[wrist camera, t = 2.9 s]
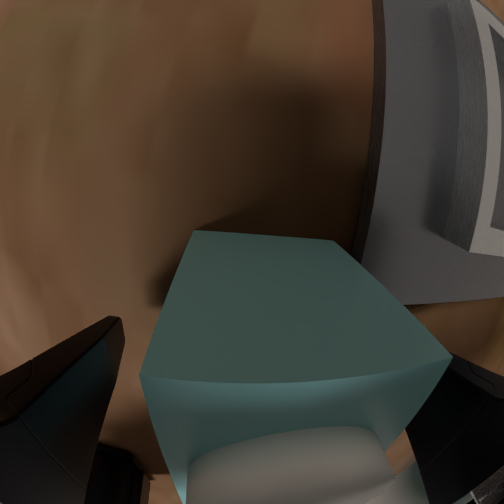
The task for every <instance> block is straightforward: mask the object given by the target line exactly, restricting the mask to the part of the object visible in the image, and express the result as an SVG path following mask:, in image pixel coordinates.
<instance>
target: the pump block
mask: <svg viewBox="0 0 504 504" xmlns="http://www.w3.org/2000/svg"><path fill="white" fill-rule="evenodd" d="M452 358H453V356H452V355H451V354H450V353H449V352H448V351H447V350H446V349H445V348H444V347H443V345H442V344H441V343H440V342H439V341H438V340H437V339H436V338H435V337H434V336H433V335H432V334H431V333H430V332H429V331H428V330H427V329H426V328H425V327H424V325H423V324H422V323H421V322H420V321H419V320H418V319H417V318H416V317H415V316H414V315H413V314H412V313H411V312H410V311H409V310H408V309H407V308H406V307H405V306H404V305H403V304H402V303H401V302H400V301H399V300H398V299H397V298H395V297H394V296H393V295H392V294H391V293H390V292H389V291H388V290H387V289H386V288H385V287H384V286H383V285H382V284H381V283H380V282H379V281H378V280H377V279H376V278H374V277H373V276H372V275H371V274H370V273H369V272H368V271H367V270H366V269H365V268H364V267H363V266H361V265H360V264H359V263H358V262H357V261H356V260H355V259H354V258H353V257H351V256H350V255H349V254H348V253H347V252H346V251H345V250H344V249H342V248H341V247H340V246H339V245H338V244H337V243H336V242H334V241H333V240H321V239H309V238H297V237H285V236H272V235H259V234H245V233H231V232H217V231H201V230H193V233H192V235H191V237H190V240H189V242H188V244H187V247H186V249H185V252H184V254H183V256H182V259H181V261H180V264H179V266H178V269H177V271H176V274H175V276H174V279H173V281H172V284H171V286H170V289H169V291H168V294H167V297H166V299H165V302H164V305H163V307H162V310H161V313H160V315H159V318H158V321H157V324H156V326H155V329H154V332H153V335H152V338H151V341H150V343H149V346H148V349H147V352H146V355H145V358H144V361H143V364H142V367H141V371H140V374H139V376H140V381H141V385H142V389H143V393H144V397H145V400H146V404H147V408H148V411H149V415H150V418H151V421H152V425H153V428H154V431H155V434H156V437H157V440H158V443H159V446H160V449H161V452H162V454H163V457H164V460H165V463H166V465H167V468H168V470H169V473H170V475H171V478H172V480H173V483H174V485H175V487H176V490H177V492H178V494H179V496H180V498H181V501H182V503H183V504H364V503H366V502H368V501H370V500H371V499H373V498H375V497H377V496H378V495H380V494H381V493H383V492H384V491H385V490H386V489H388V488H389V487H390V486H391V485H392V484H393V482H394V481H395V479H396V477H395V474H394V472H393V470H392V468H391V466H390V463H389V461H388V459H387V457H386V455H385V451H386V450H387V449H388V448H389V447H390V445H391V444H392V443H393V442H394V441H395V440H396V439H397V437H398V436H399V435H400V434H401V433H402V431H403V430H404V429H405V428H406V426H407V425H408V424H409V423H410V421H411V420H412V419H413V418H414V416H415V415H416V414H417V412H418V411H419V409H420V408H421V407H422V405H423V404H424V403H425V401H426V400H427V398H428V397H429V395H430V394H431V392H432V391H433V389H434V388H435V386H436V385H437V383H438V382H439V380H440V378H441V377H442V375H443V373H444V372H445V370H446V368H447V367H448V365H449V363H450V362H451V360H452Z"/></svg>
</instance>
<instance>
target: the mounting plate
mask: <svg viewBox="0 0 504 504" xmlns="http://www.w3.org/2000/svg"><path fill="white" fill-rule="evenodd" d="M372 5H373V21H374V91H373V108H372V121H371V133H370V143H369V152H368V160H367V168H366V175H365V182H364V188H363V195H362V201H361V207H360V212H359V218H358V223H357V228H356V233H355V238H354V243H353V248H352V252H351V257H353V258H354V259H355V260H356V261H357V262H358V263H359V264H360V265H361V266H363V267H364V268H365V269H366V270H367V271H368V272H369V273H370V274H371V275H372V276H373V277H374V278H376V279H377V280H378V281H379V282H380V283H381V284H382V285H383V286H384V287H385V288H386V289H387V290H388V291H389V292H390V293H391V294H392V295H393V296H394V297H395V298H397V299H398V300H399V301H400V302H401V303H402V304H403V305H410V304H429V303H444V302H457V301H469V300H479V299H489V298H498V297H504V23H503V22H502V21H501V20H500V19H499V18H498V17H497V16H496V15H495V14H494V13H493V12H492V11H491V10H490V9H489V8H488V7H487V6H486V5H484V4H483V3H482V2H481V1H480V0H372Z"/></svg>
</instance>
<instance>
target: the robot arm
mask: <svg viewBox="0 0 504 504" xmlns="http://www.w3.org/2000/svg"><path fill="white" fill-rule="evenodd" d="M124 345H125V336H124V331H123V325H122V320H121V318H120V317H116V316H107V317H105V318H104V319H102V320H100V321H98V322H96V323H95V324H93V325H91V326H89V327H87V328H86V329H84V330H82V331H80V332H79V333H77V334H75V335H73V336H71V337H70V338H68V339H66V340H64V341H63V342H61V343H59V344H57V345H55V346H54V347H52V348H50V349H48V350H47V351H45V352H43V353H41V354H40V355H38V356H36V357H34V358H33V359H32V360H29V361H27V362H26V363H24V364H22V365H20V366H19V367H17V368H15V369H13V370H11V371H9V372H7V373H5V374H3V375H1V376H0V504H148V500H149V491H150V481H149V480H148V478H147V476H146V475H145V473H144V472H143V471H142V469H141V467H140V466H139V464H138V462H137V461H136V459H135V457H134V456H133V455H132V454H131V453H128V452H125V451H121V450H116V449H112V448H108V447H105V446H101V445H97V443H98V439H99V436H100V432H101V428H102V425H103V422H104V418H105V415H106V412H107V408H108V405H109V402H110V399H111V396H112V393H113V390H114V387H115V384H116V380H117V376H118V371H119V366H120V362H121V357H122V353H123V349H124ZM448 352H449V351H448ZM449 353H450V354H451V355H452V356H453V358H452V360H451V362H450V363H449V365H448V367H447V368H446V370H445V372H444V373H443V375H442V377H441V378H440V380H439V382H438V383H437V385H436V386H435V388H434V389H433V391H432V392H431V394H430V395H429V397H428V398H427V400H426V401H425V403H424V404H423V405H422V407H421V408H420V409H419V411H418V412H417V414H416V415H415V416H414V418H413V419H412V420H411V421H410V423H409V424H408V425H407V426H406V428H405V430H406V433H407V435H408V438H409V441H410V444H411V446H412V449H413V452H414V455H415V458H416V461H417V464H418V467H419V470H420V474H421V476H422V480H423V484H424V486H425V490H426V494H427V497H428V501H429V504H453V503H454V502H456V501H458V500H459V499H460V498H462V497H464V496H465V495H466V494H468V493H469V492H470V493H471V495H472V496H473V498H472V499H471V500H469V501H468V502H467V503H465V504H504V377H503V376H501V375H498V374H496V373H494V372H491V371H489V370H486V369H484V368H482V367H480V366H478V365H476V364H473V363H471V362H469V361H466V360H465V359H463V358H461V357H459V356H457V355H455V354H453V353H451V352H449Z"/></svg>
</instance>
